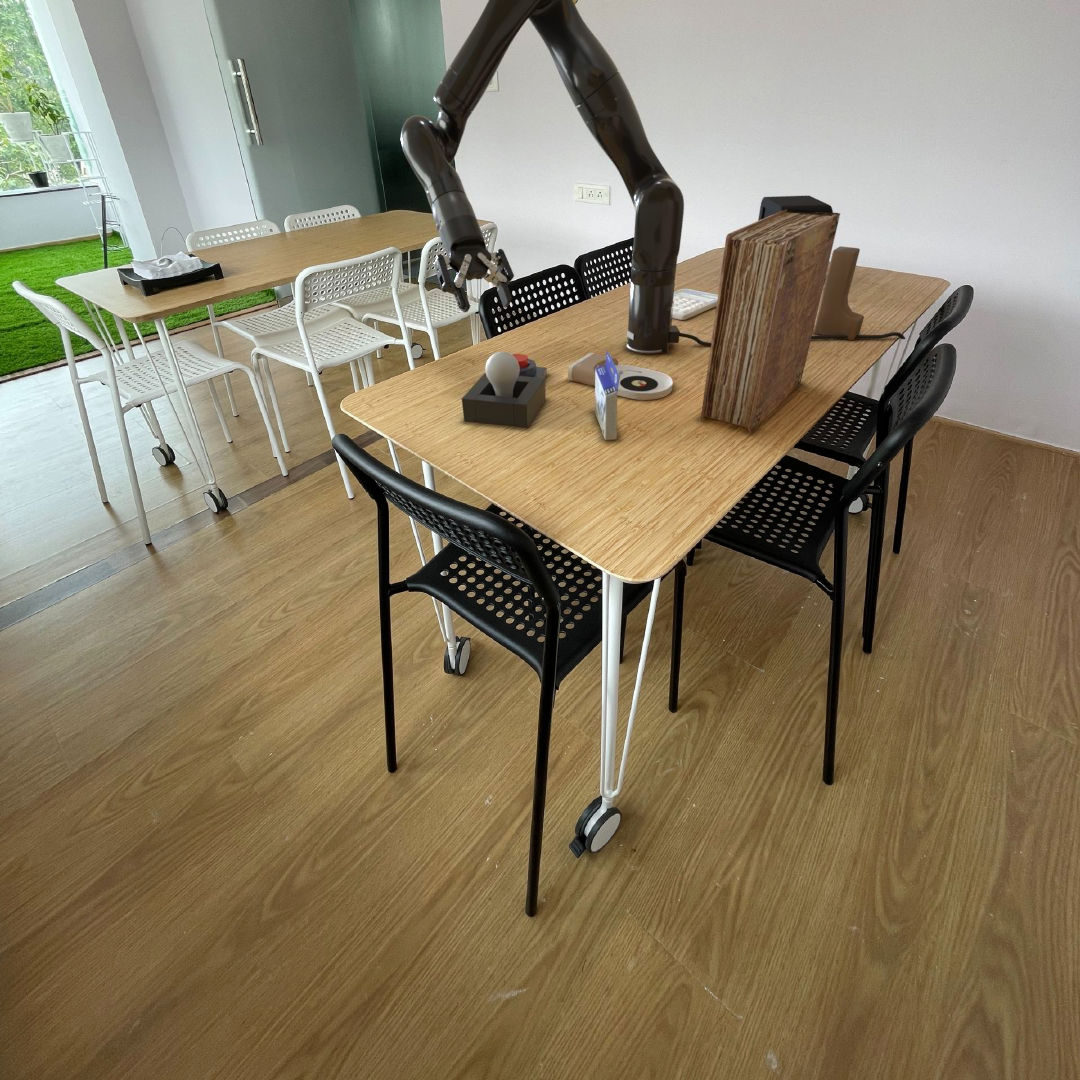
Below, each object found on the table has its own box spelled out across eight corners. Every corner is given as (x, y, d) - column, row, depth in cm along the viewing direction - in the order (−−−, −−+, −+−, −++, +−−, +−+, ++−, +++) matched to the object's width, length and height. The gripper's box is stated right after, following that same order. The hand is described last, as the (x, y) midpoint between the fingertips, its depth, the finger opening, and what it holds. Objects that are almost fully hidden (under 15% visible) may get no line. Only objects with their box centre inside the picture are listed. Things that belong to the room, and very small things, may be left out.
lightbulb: (517, 418, 112) (514, 359, 105) (485, 416, 113) (479, 358, 106) (524, 404, 117) (522, 347, 110) (493, 402, 118) (489, 345, 111)
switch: (547, 375, 128) (546, 358, 126) (536, 390, 122) (535, 373, 119) (501, 371, 130) (500, 355, 128) (488, 386, 124) (487, 369, 122)
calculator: (639, 311, 160) (640, 303, 159) (683, 293, 171) (684, 286, 170) (683, 321, 153) (684, 313, 151) (725, 302, 164) (727, 295, 163)
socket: (545, 400, 118) (545, 377, 115) (527, 428, 109) (526, 404, 106) (486, 395, 121) (484, 372, 118) (464, 421, 111) (461, 398, 109)
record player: (594, 350, 130) (683, 369, 121) (594, 364, 132) (681, 384, 122) (565, 368, 122) (657, 390, 113) (564, 383, 124) (655, 406, 115)
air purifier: (820, 285, 174) (838, 205, 162) (768, 286, 175) (783, 207, 163) (797, 267, 191) (812, 194, 179) (749, 268, 191) (762, 195, 179)
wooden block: (859, 335, 141) (883, 250, 131) (853, 341, 139) (877, 254, 128) (819, 328, 146) (839, 245, 135) (812, 333, 143) (832, 249, 132)
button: (531, 362, 125) (530, 354, 124) (524, 371, 122) (524, 362, 121) (510, 361, 126) (509, 352, 125) (503, 369, 123) (503, 360, 122)
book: (749, 433, 105) (787, 241, 87) (699, 420, 109) (725, 234, 91) (800, 383, 121) (841, 212, 103) (755, 373, 125) (786, 208, 107)
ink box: (593, 412, 113) (594, 350, 106) (605, 411, 113) (608, 349, 106) (603, 441, 104) (606, 376, 97) (617, 440, 104) (620, 375, 97)
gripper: (427, 215, 108) (459, 301, 108) (498, 211, 114) (528, 292, 114) (417, 241, 115) (447, 322, 114) (484, 236, 121) (513, 312, 121)
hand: (487, 307), depth 114 cm, fingers open, 8 cm apart
